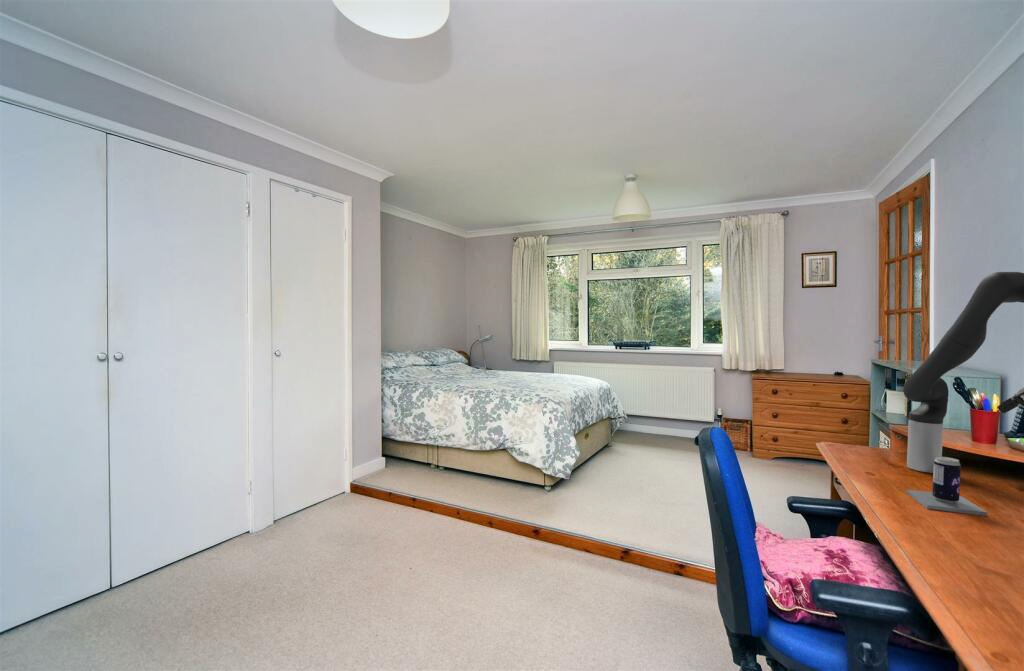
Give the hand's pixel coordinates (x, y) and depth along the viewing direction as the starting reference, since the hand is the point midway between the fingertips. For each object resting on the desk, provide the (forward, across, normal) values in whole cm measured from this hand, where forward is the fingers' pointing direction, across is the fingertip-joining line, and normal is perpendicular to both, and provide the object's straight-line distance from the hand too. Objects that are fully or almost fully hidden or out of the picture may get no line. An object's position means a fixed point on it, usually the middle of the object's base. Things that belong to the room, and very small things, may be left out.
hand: (1001, 408), depth 132 cm
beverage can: (+26, +9, +13) cm, 30 cm away
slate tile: (+27, +9, +13) cm, 31 cm away
